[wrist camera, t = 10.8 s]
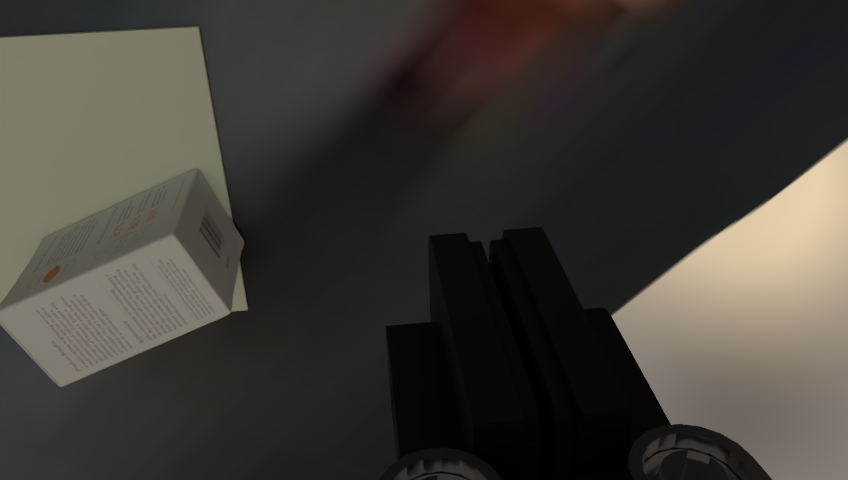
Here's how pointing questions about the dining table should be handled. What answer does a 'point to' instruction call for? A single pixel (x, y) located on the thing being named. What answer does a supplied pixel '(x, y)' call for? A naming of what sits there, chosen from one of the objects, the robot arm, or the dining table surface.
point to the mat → (99, 130)
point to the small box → (125, 280)
